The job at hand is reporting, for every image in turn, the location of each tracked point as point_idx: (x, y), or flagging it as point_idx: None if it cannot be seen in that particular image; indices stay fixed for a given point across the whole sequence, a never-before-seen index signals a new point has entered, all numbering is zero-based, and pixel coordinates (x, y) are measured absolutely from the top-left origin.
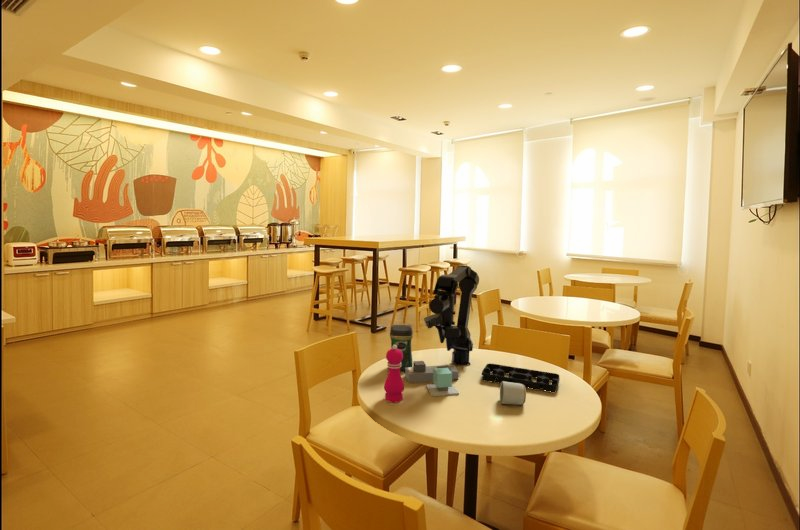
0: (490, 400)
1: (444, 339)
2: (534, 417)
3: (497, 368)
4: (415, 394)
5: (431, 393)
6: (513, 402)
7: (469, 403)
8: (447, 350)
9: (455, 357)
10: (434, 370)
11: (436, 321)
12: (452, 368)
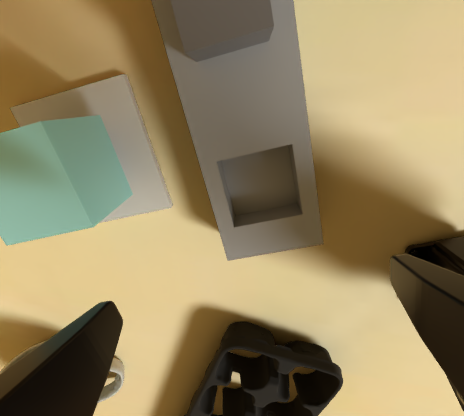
0: (67, 315)
1: (418, 332)
2: None
3: (319, 386)
4: (4, 6)
5: (24, 103)
6: None
7: (16, 253)
8: (100, 303)
9: (453, 264)
10: (16, 128)
11: None
12: (266, 236)
